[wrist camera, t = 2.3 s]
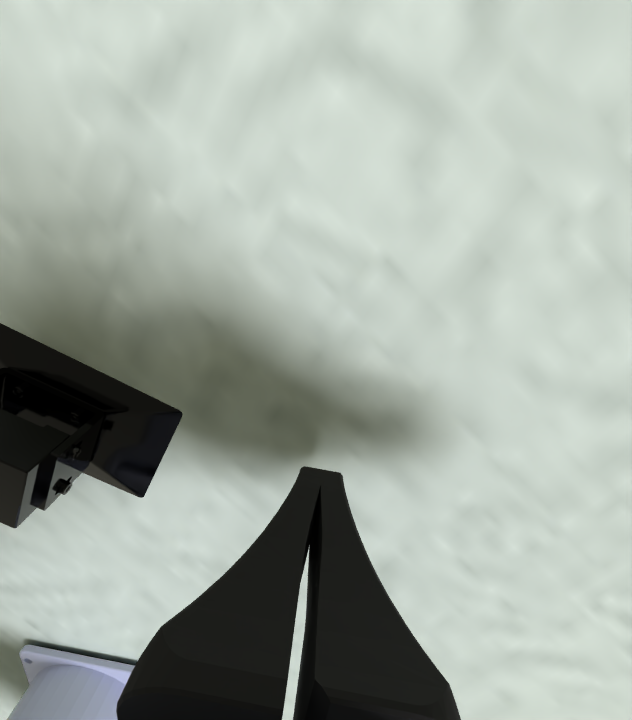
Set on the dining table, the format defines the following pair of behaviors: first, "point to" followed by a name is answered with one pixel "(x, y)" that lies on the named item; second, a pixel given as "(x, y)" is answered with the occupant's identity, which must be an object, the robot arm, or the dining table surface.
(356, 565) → the robot arm
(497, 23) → the dining table surface
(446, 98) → the dining table surface
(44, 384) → the build plate
